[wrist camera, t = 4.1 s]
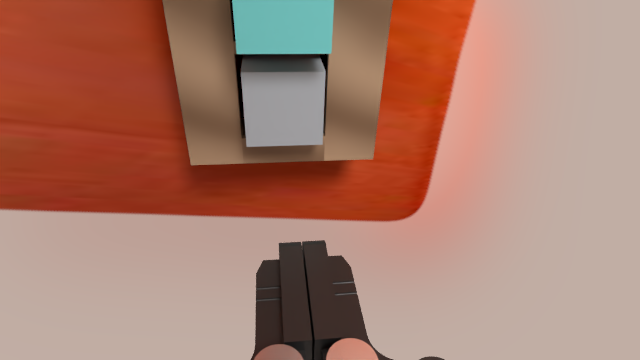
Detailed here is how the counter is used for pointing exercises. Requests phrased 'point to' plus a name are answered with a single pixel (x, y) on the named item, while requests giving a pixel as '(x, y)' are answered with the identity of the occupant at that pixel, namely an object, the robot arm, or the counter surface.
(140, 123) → the counter surface
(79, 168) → the counter surface
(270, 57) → the grey key
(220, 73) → the frame
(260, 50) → the teal key
